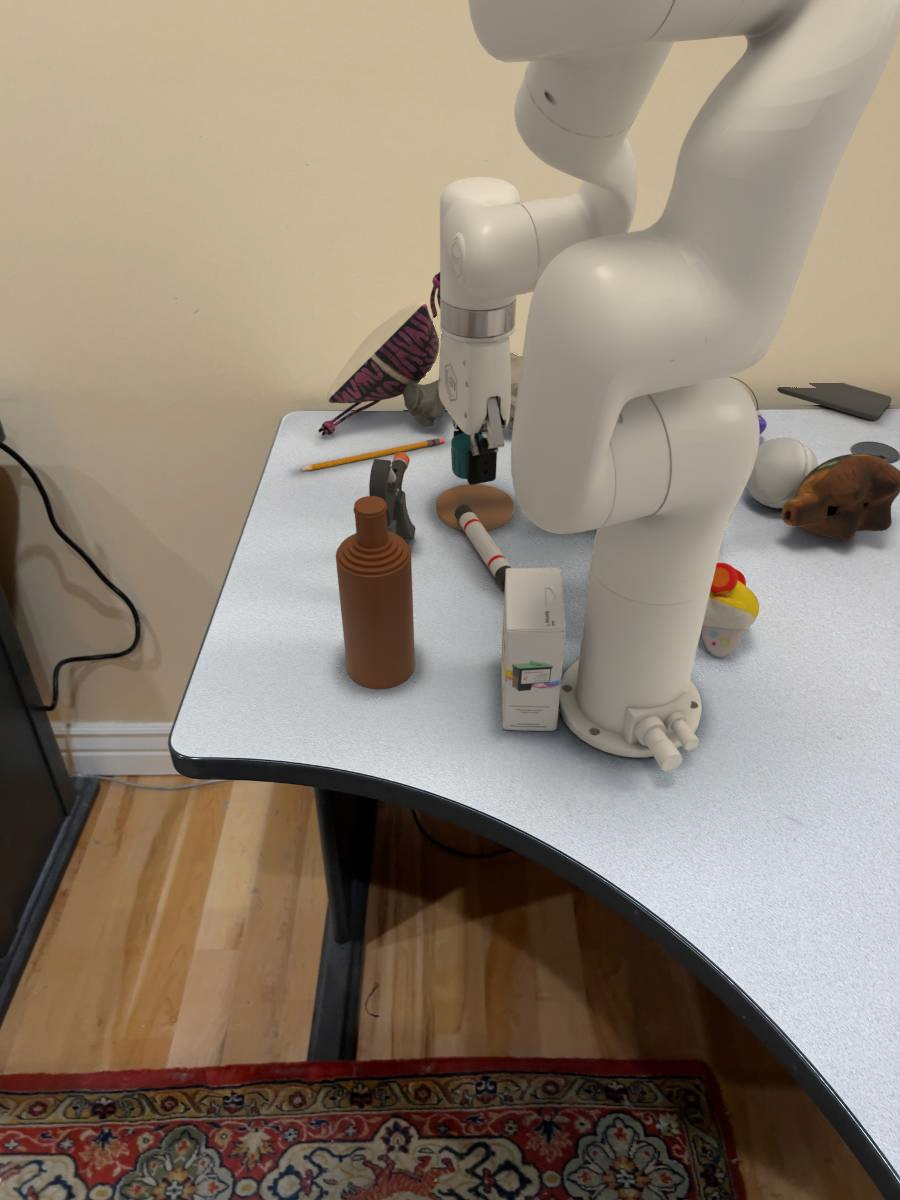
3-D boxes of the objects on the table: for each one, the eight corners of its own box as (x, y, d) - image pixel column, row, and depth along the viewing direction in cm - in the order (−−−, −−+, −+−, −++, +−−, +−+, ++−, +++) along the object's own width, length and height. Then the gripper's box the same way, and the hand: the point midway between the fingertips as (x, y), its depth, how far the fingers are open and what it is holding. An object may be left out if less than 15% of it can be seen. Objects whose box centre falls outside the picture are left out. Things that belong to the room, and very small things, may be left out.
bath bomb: (718, 483, 108) (765, 503, 112) (762, 506, 101) (810, 526, 105) (752, 419, 106) (798, 442, 110) (799, 438, 99) (846, 462, 103)
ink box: (499, 663, 87) (504, 563, 80) (552, 664, 87) (561, 564, 80) (500, 731, 81) (505, 629, 73) (557, 732, 80) (568, 630, 73)
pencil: (444, 440, 118) (444, 444, 119) (443, 436, 118) (442, 440, 119) (299, 470, 113) (299, 474, 114) (298, 465, 113) (298, 469, 114)
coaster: (525, 522, 105) (525, 518, 105) (450, 538, 103) (450, 533, 102) (496, 482, 112) (496, 478, 111) (425, 496, 109) (425, 491, 109)
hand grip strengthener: (417, 537, 103) (414, 415, 93) (391, 608, 93) (384, 481, 84) (397, 535, 103) (392, 413, 94) (369, 605, 94) (360, 479, 84)
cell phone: (893, 397, 127) (892, 402, 127) (795, 369, 133) (793, 374, 134) (877, 416, 122) (875, 421, 123) (776, 386, 128) (774, 391, 129)
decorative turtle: (947, 467, 96) (898, 430, 102) (819, 488, 92) (775, 449, 98) (917, 543, 102) (872, 505, 108) (795, 566, 99) (756, 525, 105)
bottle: (424, 679, 86) (419, 517, 74) (357, 696, 84) (342, 533, 72) (403, 635, 90) (395, 477, 79) (339, 651, 89) (322, 491, 77)
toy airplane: (746, 666, 93) (612, 609, 99) (782, 585, 92) (644, 533, 98) (722, 662, 81) (572, 597, 87) (763, 569, 80) (609, 510, 87)
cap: (461, 457, 106) (459, 429, 104) (492, 464, 105) (492, 436, 102) (446, 475, 103) (444, 447, 101) (478, 482, 102) (477, 454, 100)
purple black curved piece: (469, 306, 109) (504, 323, 127) (425, 253, 110) (466, 277, 128) (326, 447, 117) (378, 444, 135) (285, 397, 118) (342, 401, 136)
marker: (454, 521, 104) (454, 506, 103) (470, 516, 105) (470, 502, 103) (510, 606, 94) (510, 592, 92) (527, 601, 94) (528, 587, 93)
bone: (398, 380, 118) (395, 424, 122) (434, 398, 115) (430, 442, 118) (508, 346, 132) (503, 386, 136) (544, 360, 129) (537, 401, 132)
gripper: (416, 288, 98) (419, 440, 109) (471, 354, 86) (468, 517, 97) (483, 279, 99) (479, 430, 111) (546, 342, 87) (534, 504, 99)
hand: (474, 469), depth 104 cm, fingers closed on cap, 3 cm apart
